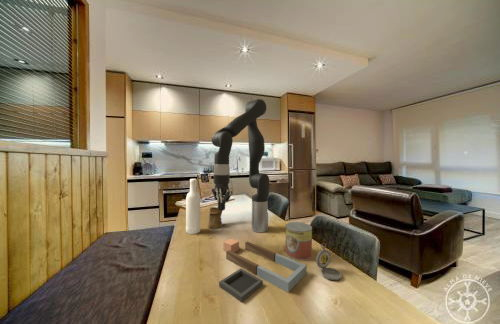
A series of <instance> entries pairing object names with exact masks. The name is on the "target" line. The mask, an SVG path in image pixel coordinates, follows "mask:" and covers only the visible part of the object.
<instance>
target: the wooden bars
mask: <svg viewBox="0 0 500 324" xmlns="http://www.w3.org/2000/svg"><path fill="white" fill-rule="evenodd" d="M244 243H245V244H244V249H245V251H246V250H247V251H249V252H251V253H253V254H256V255H258V256H260V257H261V258H265V259H267V260H269V261H271V262H273V263H276V262H275V255H276V254H277V252H274V251H272V250H269V249H267V248H265V247H262V246H260V245H257V244H255V243H252V242H250V241H246V242H244ZM225 253H226V254H225V259H226V260H227V261H230V262H231V263H234V265H236V266H238V267H241V269H243V270H245V271H247V272H249V273H250V274H252V275H254V276H257V267H258V266H259V264H258V263H256V262H253V261H251V260H250V259H247V258H245V257H243V256H241V255H240V254H237V253H236V252H234V253H233V252H231V251H229V250H228V251H225Z"/></svg>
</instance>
